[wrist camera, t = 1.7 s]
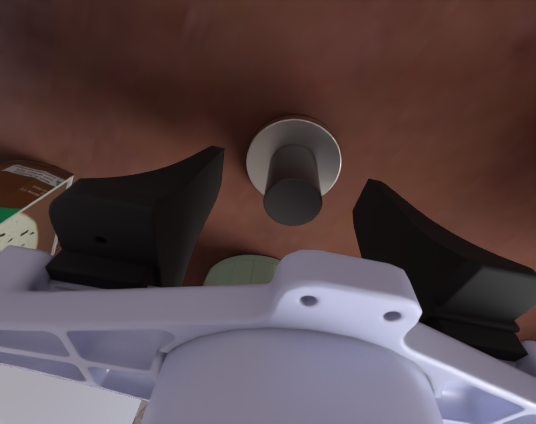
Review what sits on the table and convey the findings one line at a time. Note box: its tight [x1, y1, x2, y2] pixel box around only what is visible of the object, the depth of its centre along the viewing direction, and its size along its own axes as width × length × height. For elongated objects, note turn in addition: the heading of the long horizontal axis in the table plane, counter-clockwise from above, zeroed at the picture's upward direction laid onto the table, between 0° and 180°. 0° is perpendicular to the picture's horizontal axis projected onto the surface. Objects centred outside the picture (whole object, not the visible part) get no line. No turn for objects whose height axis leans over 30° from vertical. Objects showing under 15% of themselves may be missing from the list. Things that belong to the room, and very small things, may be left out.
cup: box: [202, 255, 280, 286], centre depth 20 cm, size 9×9×6 cm
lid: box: [246, 115, 342, 226], centre depth 13 cm, size 5×5×4 cm
